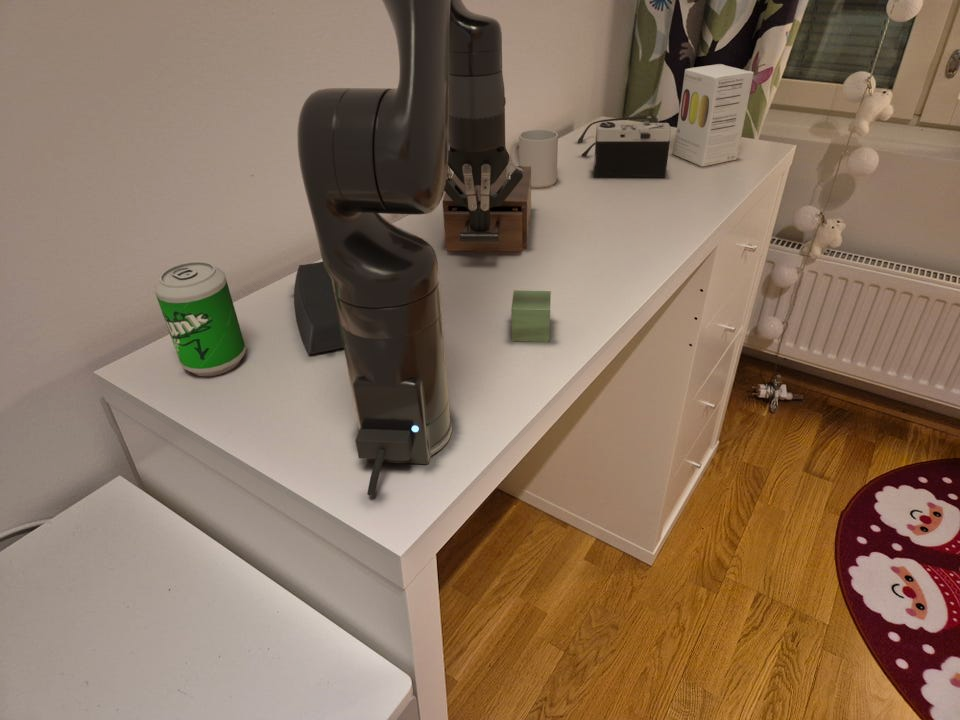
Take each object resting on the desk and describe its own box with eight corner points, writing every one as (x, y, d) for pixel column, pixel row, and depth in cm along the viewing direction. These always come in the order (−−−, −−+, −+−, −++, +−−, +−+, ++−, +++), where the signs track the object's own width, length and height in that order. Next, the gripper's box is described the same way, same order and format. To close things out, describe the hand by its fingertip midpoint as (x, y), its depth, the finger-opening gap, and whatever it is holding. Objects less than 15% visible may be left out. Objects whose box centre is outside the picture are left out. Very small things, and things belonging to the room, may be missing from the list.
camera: (666, 165, 132) (672, 114, 126) (665, 182, 125) (671, 129, 119) (596, 162, 135) (599, 112, 129) (591, 179, 128) (594, 127, 122)
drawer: (520, 268, 95) (520, 230, 91) (440, 267, 96) (437, 230, 92) (526, 214, 111) (526, 180, 108) (458, 213, 112) (456, 180, 109)
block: (549, 342, 80) (550, 309, 78) (511, 341, 81) (511, 308, 78) (549, 322, 84) (550, 290, 81) (513, 321, 84) (513, 290, 82)
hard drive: (380, 272, 97) (377, 246, 95) (408, 338, 82) (405, 310, 80) (291, 287, 94) (285, 261, 92) (302, 359, 79) (296, 330, 77)
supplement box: (671, 154, 137) (682, 68, 128) (706, 147, 140) (720, 62, 131) (702, 167, 130) (716, 76, 120) (738, 159, 133) (755, 70, 124)
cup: (542, 191, 122) (543, 142, 117) (500, 181, 128) (499, 134, 123) (563, 180, 127) (565, 133, 122) (521, 170, 132) (521, 125, 127)
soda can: (225, 338, 84) (199, 252, 77) (260, 358, 79) (236, 269, 73) (170, 365, 79) (137, 276, 72) (205, 388, 75) (173, 296, 68)
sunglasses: (576, 138, 149) (577, 115, 146) (651, 136, 148) (654, 113, 145) (582, 161, 136) (584, 137, 133) (665, 160, 135) (668, 135, 132)
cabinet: (526, 249, 102) (527, 200, 98) (445, 248, 103) (442, 200, 99) (530, 210, 115) (531, 166, 111) (458, 209, 116) (456, 166, 112)
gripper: (420, 116, 83) (431, 243, 92) (525, 115, 81) (525, 244, 91) (430, 101, 89) (439, 222, 99) (528, 100, 87) (527, 222, 97)
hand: (480, 232), depth 95 cm, fingers closed
